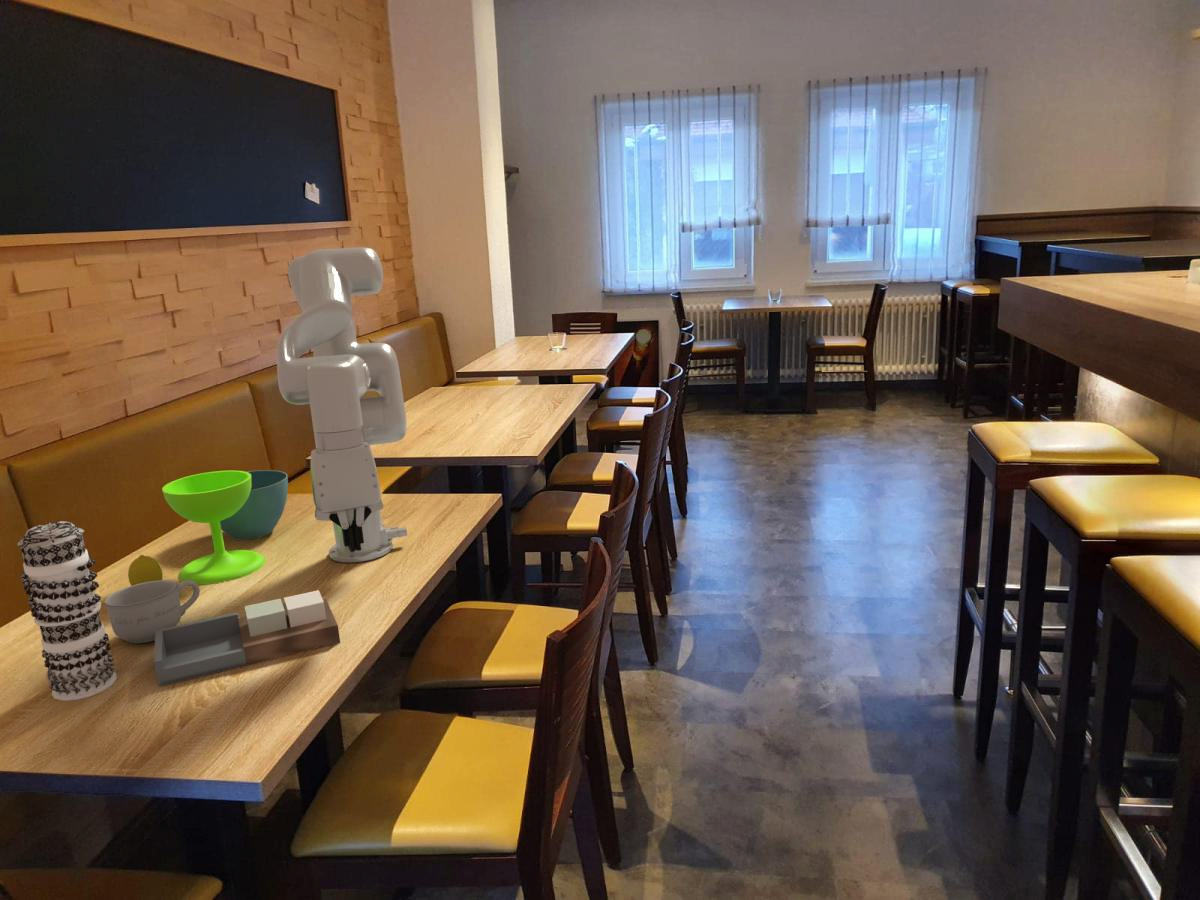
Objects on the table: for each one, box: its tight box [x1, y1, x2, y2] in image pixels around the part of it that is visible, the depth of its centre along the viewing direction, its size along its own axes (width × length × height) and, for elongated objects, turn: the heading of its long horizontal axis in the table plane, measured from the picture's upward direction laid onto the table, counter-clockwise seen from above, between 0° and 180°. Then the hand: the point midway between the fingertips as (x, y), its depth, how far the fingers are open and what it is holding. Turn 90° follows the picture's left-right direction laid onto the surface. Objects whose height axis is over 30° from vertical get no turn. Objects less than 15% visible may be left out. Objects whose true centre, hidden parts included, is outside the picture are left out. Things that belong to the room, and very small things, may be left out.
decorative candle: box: [17, 520, 118, 702], centre depth 124 cm, size 9×9×25 cm
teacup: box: [104, 579, 201, 644], centre depth 143 cm, size 14×11×8 cm
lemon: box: [127, 554, 164, 586], centre depth 159 cm, size 6×6×8 cm
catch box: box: [153, 611, 247, 688], centre depth 133 cm, size 12×12×4 cm
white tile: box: [283, 589, 326, 627], centre depth 139 cm, size 6×6×3 cm
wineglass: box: [161, 470, 266, 585], centre depth 169 cm, size 16×16×18 cm
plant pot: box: [220, 469, 289, 541], centre depth 189 cm, size 18×18×12 cm
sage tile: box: [244, 598, 287, 637], centre depth 137 cm, size 6×6×3 cm
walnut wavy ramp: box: [238, 597, 341, 666], centre depth 139 cm, size 14×12×3 cm
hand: (354, 548), depth 140 cm, fingers closed
